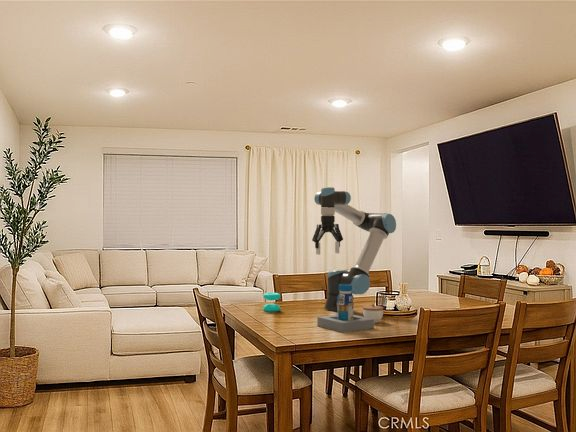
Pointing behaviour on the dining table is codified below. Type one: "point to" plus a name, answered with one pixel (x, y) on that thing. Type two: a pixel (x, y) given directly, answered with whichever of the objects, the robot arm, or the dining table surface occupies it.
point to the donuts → (271, 306)
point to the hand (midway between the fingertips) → (327, 253)
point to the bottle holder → (345, 323)
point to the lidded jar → (373, 312)
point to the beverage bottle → (345, 303)
